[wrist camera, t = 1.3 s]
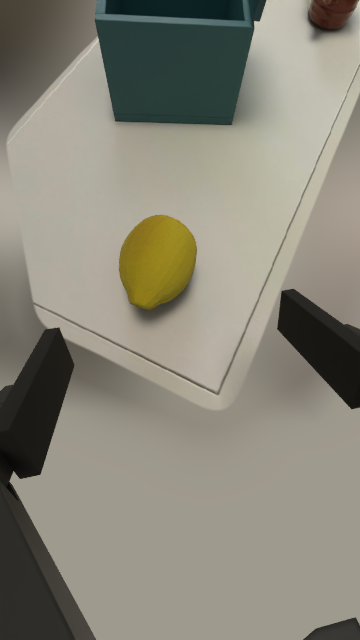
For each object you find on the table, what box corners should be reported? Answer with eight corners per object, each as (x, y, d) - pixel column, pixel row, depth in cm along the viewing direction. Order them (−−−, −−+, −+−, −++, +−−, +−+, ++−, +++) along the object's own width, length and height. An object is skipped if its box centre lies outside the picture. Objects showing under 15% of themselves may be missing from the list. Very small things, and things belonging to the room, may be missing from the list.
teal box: (115, 120, 37) (94, 19, 26) (120, 49, 40) (103, -64, 30) (231, 124, 37) (254, 27, 27) (225, 53, 41) (244, -55, 31)
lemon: (154, 229, 32) (149, 180, 25) (207, 258, 32) (220, 216, 24) (106, 298, 30) (83, 267, 22) (163, 331, 29) (161, 311, 21)
